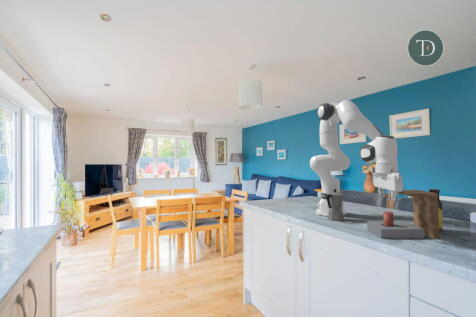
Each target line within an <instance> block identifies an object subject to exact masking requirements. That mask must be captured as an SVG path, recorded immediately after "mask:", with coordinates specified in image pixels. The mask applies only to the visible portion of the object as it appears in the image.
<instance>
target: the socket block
mask: <svg viewBox="0 0 476 317" xmlns="http://www.w3.org/2000/svg"><path fill="white" fill-rule="evenodd" d="M366 224H367V225H366V228H367V229H366V230H367V231H369V232H370V233H372V234H373V235H375V236H377V237H378V238H380V239H426V238H425V236H426V235H425V234H424V229H423V228H420V227H418V226H415V225H414V223H413V224H412V223H410V222H408V221H398V220H397V221H394V227H385V226H384V221H367V222H366Z"/></svg>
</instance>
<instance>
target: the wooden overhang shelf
mask: <svg viewBox="0 0 476 317" xmlns="http://www.w3.org/2000/svg"><path fill="white" fill-rule="evenodd" d="M397 195H401V196H402V195H403V196H406V197H410V198H412V214H413V215H412V216H413V225H415V226H418V227H420V228H423V229H424V235H425V236H428V237H430V238H432V239H440V231H439V219H438V198H437V193H433V192H429V191H426V190H420V189H403V191H402V192H398V194H397Z"/></svg>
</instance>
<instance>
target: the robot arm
mask: <svg viewBox="0 0 476 317" xmlns="http://www.w3.org/2000/svg"><path fill="white" fill-rule="evenodd" d="M317 117H318V119H320V122H319V131H318V133H319V145H320V147H321V148H322V149H324V150H326V151H327V152H328V154H318V155H314V156H312V157H311V158H310V160H309V167H310V169H311V170H312V171H313V172H315V173H316V175H317V177H318V178H319V180H320V185H321V193H320V200H319V202H318V203H316V207H317V208H316V209H315V213H316V216H317V215H318V216H324V217H328V215H329V206H328V202H327V194H328V193H332V192H334V189H336V192H337V193H341V188H340V187H341V186H340V184H341V183H340V181H339V179H338V178H336V177H334V176H333V175H332V173H331V172H341V171H347V170H348V168H349V167H350V166H351V160H350V157H348V156H347V155H346V154H345V153H344V151H342V149H341V147H340V145H339V137H338V124H339V123H341V124H342V125H343V126H344V127H345V129H346V130H348V131H350V132H352V133H353V132H354V133H359V134H360V135H365V136H366V137H368V138H369V140H370V142H368V143H365V144H363V145H362V146H360V149H359V156H360V159H361V160H362V161H363V162H366V163H375V166H373V167H372V168H371V173H372V184H373V186H374V187H375V188H377V191H378V193H379V197H380V198H386V194H385V190H386V191H390V194H391V196H389V200H390V201H393V202H395V201H397V196H398V195H399V194H398V192H402V191H403V190H404V181H403V176H402V174H401V173H400V172H399V162H398V155H399V151H398V143H397V138H396V137H395V136H393V135H386V134H385V135H384V134H383V133H382V131H381V130H380V129H379V128H378V127H377V126H376V125H375V124H374V123H373V122H372V121H371V120H370V119H368V118H367V117H366V116H365V115H364V113H362V112H361V110H360V109H359V107H358V106H357V105H356V104H355V103H354V102H353V101H352V100H350V99H344V100H341V101H340V102H330V103H328V102H326V103H321V104H320V106H319V107H318V108H317ZM344 205H345V204H344V201H342V211H343V216H346V215H347V213H348V212H345V206H344Z"/></svg>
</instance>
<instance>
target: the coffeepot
mask: <svg viewBox="0 0 476 317" xmlns="http://www.w3.org/2000/svg"><path fill="white" fill-rule="evenodd" d="M343 199H344V193H341V192H340V193H337V192H336V189H334V192H332V193H328V194H327V202H328V206H329V215H328V216H327V219H328V220H329V221H332V222H342V221H344V220H345V215H343V211H342V201H343ZM343 202H344V201H343Z"/></svg>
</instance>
